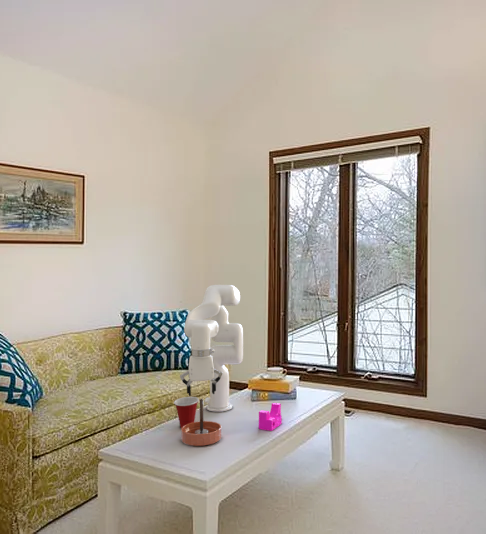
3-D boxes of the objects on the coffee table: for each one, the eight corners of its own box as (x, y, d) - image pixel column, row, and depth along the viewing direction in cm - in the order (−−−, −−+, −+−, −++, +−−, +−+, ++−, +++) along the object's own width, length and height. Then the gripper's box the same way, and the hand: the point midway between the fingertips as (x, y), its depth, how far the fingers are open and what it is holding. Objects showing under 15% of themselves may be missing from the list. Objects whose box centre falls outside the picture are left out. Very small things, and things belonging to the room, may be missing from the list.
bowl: (173, 442, 198) (172, 430, 198) (199, 430, 212) (198, 418, 212) (204, 449, 190) (204, 437, 190) (229, 436, 204) (229, 424, 204)
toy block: (271, 430, 212) (271, 413, 211) (258, 428, 214) (258, 411, 214) (285, 420, 225) (285, 404, 225) (273, 418, 228) (273, 402, 228)
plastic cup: (169, 427, 217) (168, 400, 217) (189, 421, 225) (189, 395, 225) (183, 432, 210) (183, 404, 209) (203, 426, 217) (203, 399, 217)
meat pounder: (191, 439, 200) (191, 399, 200) (200, 434, 205) (200, 396, 205) (202, 441, 198) (202, 401, 198) (211, 437, 203) (211, 398, 202)
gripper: (220, 349, 207) (221, 389, 208) (179, 352, 202) (179, 393, 203) (223, 353, 200) (223, 394, 200) (180, 356, 195) (180, 398, 196)
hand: (201, 394), depth 202 cm, fingers open, 9 cm apart
